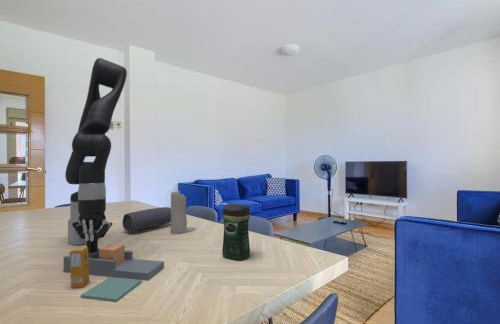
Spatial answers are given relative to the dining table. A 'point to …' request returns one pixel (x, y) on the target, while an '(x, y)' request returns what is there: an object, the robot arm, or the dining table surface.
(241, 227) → the coffee jar
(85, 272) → the supplement box
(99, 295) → the pad
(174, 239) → the dining table surface
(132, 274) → the channel
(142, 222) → the bluetooth speaker
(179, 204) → the candle
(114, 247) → the block
